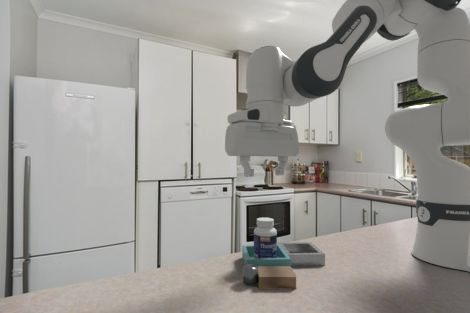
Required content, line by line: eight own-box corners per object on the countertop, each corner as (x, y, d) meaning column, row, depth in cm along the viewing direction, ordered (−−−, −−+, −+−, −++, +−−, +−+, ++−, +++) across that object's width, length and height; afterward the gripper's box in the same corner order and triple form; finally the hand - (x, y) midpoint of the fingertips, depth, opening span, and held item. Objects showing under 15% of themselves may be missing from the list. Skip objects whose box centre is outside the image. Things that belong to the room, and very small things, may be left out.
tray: (280, 256, 65) (280, 244, 65) (291, 273, 55) (291, 258, 55) (242, 257, 64) (242, 245, 64) (246, 274, 54) (246, 260, 54)
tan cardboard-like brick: (290, 278, 53) (290, 266, 53) (296, 290, 48) (296, 277, 48) (257, 278, 53) (257, 266, 53) (259, 290, 48) (259, 276, 48)
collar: (310, 251, 68) (310, 242, 68) (325, 264, 59) (325, 254, 59) (277, 252, 68) (277, 242, 68) (287, 265, 59) (287, 254, 59)
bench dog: (256, 278, 52) (256, 263, 52) (259, 285, 49) (259, 269, 49) (242, 279, 52) (242, 264, 52) (243, 286, 49) (243, 270, 49)
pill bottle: (259, 267, 56) (259, 222, 56) (250, 258, 61) (250, 217, 61) (281, 264, 58) (281, 220, 58) (270, 255, 63) (270, 216, 63)
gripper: (286, 122, 69) (286, 174, 68) (221, 115, 57) (221, 176, 57) (304, 119, 63) (305, 175, 63) (237, 110, 52) (237, 178, 52)
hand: (265, 176), depth 60 cm, fingers open, 8 cm apart
